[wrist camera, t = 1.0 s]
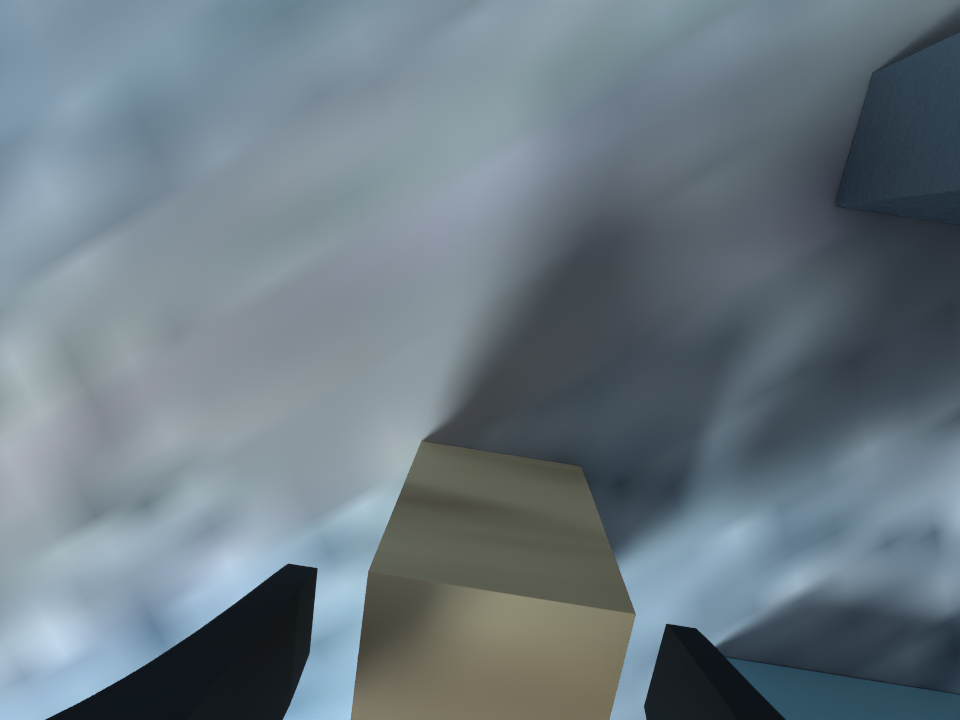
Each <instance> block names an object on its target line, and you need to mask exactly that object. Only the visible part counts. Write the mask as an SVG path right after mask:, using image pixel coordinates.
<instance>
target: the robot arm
mask: <svg viewBox="0 0 960 720" xmlns="http://www.w3.org/2000/svg"><path fill="white" fill-rule="evenodd" d="M316 579H317V568H313V567H306V566H300V565H294V564H287V565H286V566H284V567H283V568H281V569H280V570H279V571H277V572H276V573H275V574H273V575H272V576H271V577H269V578H268V579H267V580H265V581H264V582H263V583H261V584H260V585H259V586H258V587H256V588H255V589H254V590H252V591H251V592H250V593H248V594H247V595H246V596H244V597H243V598H242V599H240V600H239V601H238V602H236V603H235V604H234V605H232V606H231V607H230V608H228V609H227V610H226V611H224V612H223V613H221V614H220V615H219V616H217V617H216V618H214V619H213V620H212V621H210V622H209V623H208V624H206V625H205V626H203V627H202V628H201V629H199V630H198V631H196V632H195V633H193V634H192V635H190V636H189V637H187V638H186V639H184V640H183V641H181V642H180V643H178V644H177V645H175V646H174V647H172V648H171V649H169V650H168V651H166V652H165V653H163V654H162V655H160V656H159V657H157V658H156V659H154V660H153V661H151V662H149V663H148V664H146V665H145V666H143V667H141V668H140V669H138V670H136V671H135V672H133V673H131V674H130V675H128V676H126V677H125V678H123V679H121V680H119V681H118V682H116V683H114V684H112V685H111V686H109V687H107V688H105V689H103V690H102V691H100V692H98V693H96V694H95V695H93V696H91V697H89V698H87V699H85V700H83V701H82V702H80V703H78V704H76V705H74V706H72V707H70V708H68V709H66V710H64V711H62V712H60V713H58V714H56V715H54V716H52V717H50V718H48V719H46V720H283V718H284V716H285V714H286V712H287V710H288V708H289V706H290V703H291V700H292V698H293V695H294V693H295V690H296V688H297V685H298V683H299V680H300V677H301V675H302V672H303V669H304V667H305V664H306V661H307V658H308V656H309V653H310V643H311V632H312V622H313V611H314V600H315V590H316ZM644 708H645V714H646V719H647V720H786V719H785V718H784V717H783V716H782V715H781V714H780V713H779V712H778V711H777V710H776V709H775V708H774V707H773V706H772V705H771V704H770V703H769V702H768V701H767V700H766V699H765V698H764V697H763V696H762V695H761V694H760V693H759V692H758V691H757V690H756V689H755V688H754V687H753V686H752V685H751V684H750V683H749V682H748V681H747V679H746V678H745V677H744V676H743V675H742V674H741V673H740V672H739V671H738V670H737V669H736V668H735V667H734V666H733V665H732V664H731V663H730V662H729V661H728V660H727V659H726V658H725V657H724V656H723V655H722V654H721V653H720V652H719V650H718V649H717V648H716V647H715V646H714V645H713V644H712V643H711V642H710V641H709V640H708V639H707V638H706V637H705V636H704V635H702V634H701V633H700V632H699V631H698V630H697V629H696V628H690V627H684V626H677V625H671V624H666V627H665V631H664V634H663V638H662V642H661V645H660V649H659V653H658V657H657V660H656V664H655V668H654V671H653V675H652V679H651V683H650V686H649V690H648V694H647V697H646V701H645V705H644Z"/></svg>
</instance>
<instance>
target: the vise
mask: <svg viewBox="0 0 960 720" xmlns="http://www.w3.org/2000/svg"><path fill="white" fill-rule="evenodd" d="M835 206H840V207H846V208H852V209H859V210H865V211H872V212H878V213H885V214H891V215H898V216H904V217H910V218H917V219H923V220H930V221H936V222H943V223H949V224H956V225H960V32H959V33H957V34H955V35H953V36H950V37H948V38H946V39H944V40H942V41H940V42H938V43H936V44H933V45H931V46H929V47H927V48H925V49H923V50H921V51H918V52H916V53H914V54H912V55H910V56H908V57H906V58H904V59H901V60H899V61H897V62H895V63H893V64H891V65H889V66H886V67H884V68H882V69H880V70H878V71H876V72H874V73H873V74H872V77H871V81H870V84H869V88H868V91H867V95H866V98H865V102H864V105H863V109H862V112H861V116H860V119H859V122H858V126H857V129H856V133H855V136H854V140H853V143H852V147H851V150H850V154H849V157H848V161H847V164H846V168H845V171H844V174H843V178H842V181H841V185H840V188H839V192H838V195H837V199H836V202H835Z"/></svg>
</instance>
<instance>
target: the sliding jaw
mask: <svg viewBox="0 0 960 720" xmlns="http://www.w3.org/2000/svg"><path fill="white" fill-rule="evenodd" d="M725 658H726V659H727V660H728V661H729V662H730V663H731V664H732V665H733V666H734V667H735V668H736V669H737V670H738V671H739V672H740V673H741V674H742V675H743V676H744V677H745V678H746V679H747V681H748V682H749V683H750V684H751V685H752V686H753V687H754V688H755V689H756V690H757V691H758V692H759V693H760V694H761V695H762V696H763V697H764V698H765V699H766V700H767V701H768V702H769V703H770V704H771V705H772V706H773V707H774V708H775V709H776V710H777V711H778V712H779V713H780V714H781V715H782V716H783V717H784V718H785V719H786V720H960V695H958V694H952V693H945V692H939V691H933V690H927V689H920V688H914V687H908V686H902V685H895V684H889V683H883V682H877V681H870V680H864V679H858V678H852V677H845V676H839V675H833V674H827V673H820V672H814V671H808V670H802V669H795V668H789V667H783V666H777V665H770V664H764V663H758V662H752V661H745V660H739V659H733V658H727V657H725Z"/></svg>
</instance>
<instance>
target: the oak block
mask: <svg viewBox="0 0 960 720" xmlns="http://www.w3.org/2000/svg"><path fill="white" fill-rule="evenodd" d="M635 615H636V614H635V611H634V608H633V606H632V603H631V600H630V597H629V595H628V592H627V589H626V587H625V584H624V581H623V578H622V576H621V573H620V570H619V567H618V565H617V562H616V559H615V557H614V554H613V551H612V548H611V546H610V543H609V540H608V538H607V535H606V532H605V529H604V527H603V524H602V521H601V518H600V516H599V513H598V510H597V508H596V505H595V502H594V499H593V497H592V494H591V491H590V489H589V486H588V483H587V480H586V478H585V475H584V472H583V470H582V467H581V466H576V465H570V464H564V463H557V462H551V461H545V460H538V459H532V458H526V457H519V456H513V455H507V454H500V453H494V452H488V451H481V450H475V449H469V448H463V447H456V446H450V445H444V444H437V443H431V442H425V441H421V444H420V446H419V448H418V451H417V453H416V456H415V458H414V461H413V463H412V466H411V468H410V471H409V473H408V475H407V478H406V480H405V483H404V485H403V488H402V490H401V493H400V495H399V498H398V500H397V502H396V505H395V507H394V510H393V512H392V515H391V517H390V520H389V522H388V525H387V527H386V529H385V532H384V534H383V537H382V539H381V542H380V544H379V547H378V549H377V552H376V554H375V556H374V559H373V561H372V564H371V566H370V569H369V571H368V579H367V587H366V596H365V604H364V612H363V621H362V629H361V638H360V646H359V654H358V663H357V671H356V680H355V688H354V696H353V705H352V713H351V720H609V719H610V715H611V711H612V707H613V703H614V699H615V695H616V691H617V687H618V683H619V679H620V675H621V671H622V667H623V663H624V659H625V655H626V651H627V647H628V643H629V639H630V635H631V631H632V627H633V623H634V619H635Z"/></svg>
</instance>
